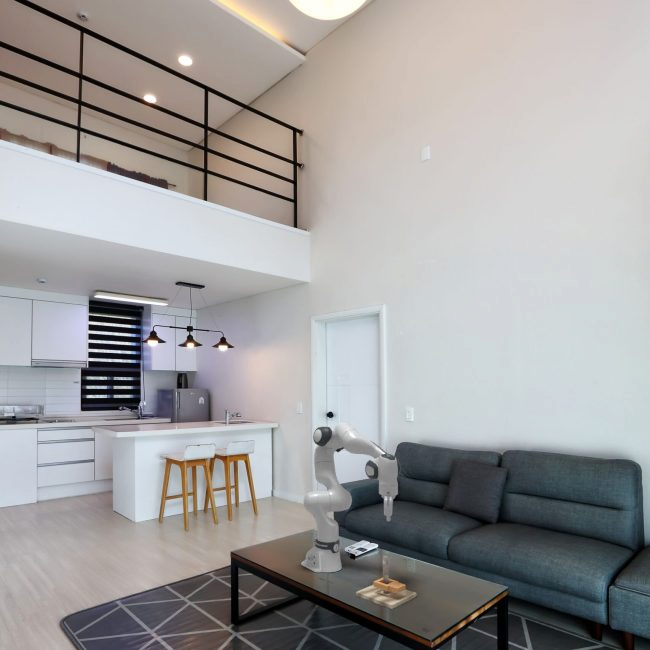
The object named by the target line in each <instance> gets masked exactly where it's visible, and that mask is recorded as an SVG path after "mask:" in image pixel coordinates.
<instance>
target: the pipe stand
mask: <svg viewBox="0 0 650 650" xmlns="http://www.w3.org/2000/svg"><path fill="white" fill-rule="evenodd" d="M389 576H390V575H389V556H388V555H386V554H384V555H383V554H382V578H383V583H384V584H389V579H390V578H389ZM355 596H356V597H359V598H360V599H364V600H366V601H369V602H371V603H375V604H378V605H380V606H382V607H385V608H388V609H390V610H393V609H396V608H397V607H399V606H402V605H403V604H405V603H406V602H409V601H411V600H413V599H414V598H417V592H415V591H413V590H409V589H406V590H404V591H402V592H400V593H398V594H397V593H394V592H391V591H385V590H382V589H379V588H377V587H374V586H373V584H372V585H371V584H370V585H369V586H367V587H365V588H363V589H362V588H361V589H360V590H358V591H356V592H355Z"/></svg>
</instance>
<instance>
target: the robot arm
mask: <svg viewBox="0 0 650 650" xmlns="http://www.w3.org/2000/svg"><path fill="white" fill-rule="evenodd" d="M312 439H313V442H314V444H316V447H315V449H314V454H313V455H314V457H313V462H314V463H313V464H314V476H315V477H314V478H315V480H316V481H317V482H318V483H319V484H321V485H323V486H324V487H325V488H326V489H324V490H323V489H321V490H318V489H317V490H313V491H308V492H306V494H305V495H304V498H303V506H304V509H305V510H306V511H307V512H308V513H309V514H310V515H311V516H312V517H313V518H314V520H315V522H316V531H317V532H316V533H317V538H316V539H314V540H313V543H314V544H315V545H314V546H313V547H311V548H310V549H309V550H308V551H307V552H306V555H305V559H304V560H302V561H301V564H300V565H301V566H302V567H304V568H306V569H308V570H310V571H312V572H314V573H335V572H338V571H340V570H341V569H343V566H342V561H341V553H340V552H341V551H340V538H339V536H340V535H339V530H340V529H339V523H338V522H337V521H336V520H335V519H333V518H332V517H329V516H328V513H329V512H330V513H333V512H335V513H336V512H342V511H347V510H349V509H350V507H351V505H352V502H353V498H352V495H351V493H350V492H349V491H348V490H347V489H346V488H344V487H343V486H342V484H341V483H340V482H339V480H338V476H337V473H336V465H335V457H334V456H335V455H334V454H335V453H336V452H337V453H341V451H342V450H346V451H347V452H348V453H351V454H352V455H353V454H354V455H366V456H369V457H372V459H369V460H368V461H366V464H365V468H364V471H365V475H366V477H368V478H369V479H370V480H374V481H375V480H378V481H379V482H378V494H379V495H381V498H382V499H383V515H384V516H386V522H391V517H392V516H393V503H394V499H395V498H396V496H397V495H398V494H399V484H398V477H399V475H400V473H401V470H402V466H401V462H400V461H399V460H398V458H397V457H396V456H395V455H393V454H391V453H390V454H389V453H388V452H386V451H385V450H384V449H383V448H381V447H380V446H379V445H378V444H377V443H375V442H373V441H372V440H371V439H368V438H366V437H365V436H364V435H363V434H361V433H360V432H359V431H358V430H357V429H356V427H354V426H352V424H349V423H348V422H345V421H343V422H342V421H341V422H339V423H338V424H337V425H336V426H335V427H330V426H319V427H317V428H315V430H314V431H313V436H312Z"/></svg>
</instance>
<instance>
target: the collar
mask: <svg viewBox="0 0 650 650" xmlns="http://www.w3.org/2000/svg"><path fill="white" fill-rule="evenodd" d="M372 583H373V584H372V585H373V586H374V587H377V588H379V589H382V590H385V591H391V592H394V593H397V594H398V593H400V592H402V591H404V590H407V589H406V584H404V583H401V582H399V581H398V580H395V579H391V578H389V584H384V583H383V577H380V578H378V579H376V580H374V581H373V582H372Z"/></svg>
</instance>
